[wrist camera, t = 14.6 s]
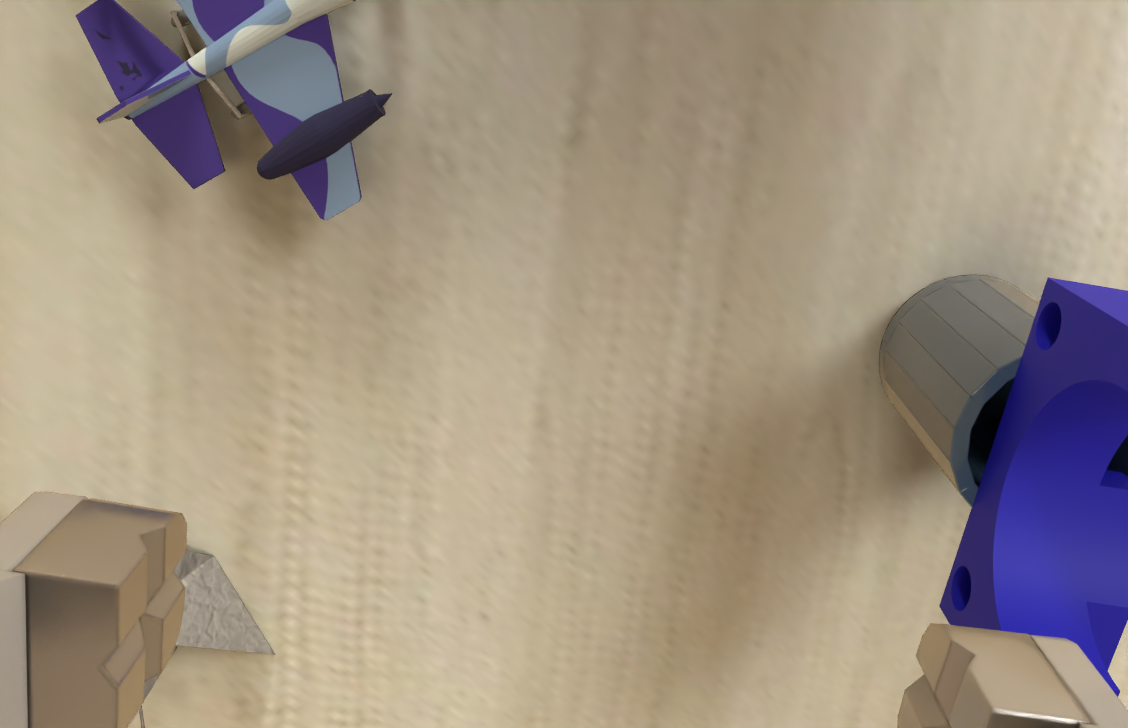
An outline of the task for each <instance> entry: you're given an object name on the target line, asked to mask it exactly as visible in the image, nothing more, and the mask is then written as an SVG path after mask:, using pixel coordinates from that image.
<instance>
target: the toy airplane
mask: <svg viewBox="0 0 1128 728" xmlns="http://www.w3.org/2000/svg"><path fill="white" fill-rule="evenodd" d="M177 1H178V3H179V4H180V6H181V7H182V9H183V10H181V11H172V12H171V15H172V18H171V23H172V25H173V26H174V27H177V28H178V30H179V32H180V35H181V37H182V39H183V41H184V43H185V45H186V47H187V50H188V52H189V54H190V56H191V58H190V59H188V60H187V61H186V62H184V61H183V60H181V59H180V58H179V57H178V56H177V55H176V54H175V53H173V52H172V51H171V50H170V49H169V48H168V47H167V46H166V45H164V44H163V43H162V42H161V41H160V40H159V39H158V38H156V37H155V36H154V35H153V34H152V33H151V32H150V31H149V30H147V29H146V28H145V27H144V26H143V25H142V24H141V23H139V22H138V21H137V20H136V19H135V18H134V17H133V16H131V15H130V14H129V13H128V12H127V11H126V10H125V9H124V8H122V7H121V6H120V5H119V4H118V3H117V2H116V1H114V0H97V1H96V2H94V3H93V4H91V5H90V6H89V7H87V8H86V9H84V10H83V11H81V12H80V13H78V14H77V15H76V17H77V19H78V21H79V23H80V25H81V27H82V29H83V31H84V33H85V35H86V37H87V39H88V41H89V43H90V45H91V47H92V49H93V51H94V53H95V55H96V57H97V59H98V61H99V63H100V65H101V67H102V69H103V71H104V73H105V75H106V77H107V79H108V81H109V83H110V85H111V87H112V89H113V91H114V93H115V95H116V97H117V99H118V100H119V102H120V104H119V105H117V106H115V107H114V108H112V109H111V110H109V111H108V112H106V113H104V114H103V115H101V116H100V117H98V118H97V121H98V122H99V123H103V122H107V121H111V120H115V119H118V118H122V117H124V118H126V119H128V120H130V119H132V120H133V122H134V123H135V125H136V126H137V127H138V128H139V129H140V130H141V132H142V133H143V134H144V135H145V136H146V137H147V138H148V139H149V140H150V141H151V143H152V144H153V145H154V146H155V147H156V148H157V149H158V150H159V151H160V153H161V154H162V155H163V156H164V157H165V158H166V159H167V160H168V161H169V163H170V164H171V165H172V166H173V167H174V168H175V169H176V170H177V171H178V172H179V174H180V175H181V176H182V177H183V178H184V179H185V180H186V181H187V182H188V184H189V185H190V186H191V187H192V188H193V189H195V188H197V187H199V186H200V185H202V184H204V183H206V182H207V181H209V180H211V179H212V178H214V177H216V176H218V175H219V174H221V173H223V172H225V168H224V165H223V162H222V159H221V156H220V153H219V150H218V146H217V143H216V140H215V137H214V134H213V131H212V128H211V125H210V122H209V118H208V115H207V112H206V109H205V106H204V103H203V100H202V97H201V93H200V90H199V87H198V83H200V82H202V81H204V80H205V79H206V81H207V82H208V83H209V84H210V85H211V86H212V88H213V89H214V90H215V91H216V92H217V93H218V95H219V96H220V97H221V98H222V99H223V100H224V101H225V103H226V104H227V105H228V106H229V107H230V108H231V110H232V113H231V114H232V117H233V118H234V119H237V120H239V119H242V118H244V117H245V116H247V115H249V114H251V113H253V115H254V117H255V118H256V120H257V121H258V123H259V124H260V126H261V127H262V129H263V130H264V132H265V134H266V135H267V137H268V138H269V140H270V141H271V143H272V144H273V147H272V148H271V149H270V150H269V151H268V152H267V153H266V154H265V155H264V156H263V157H262V158H261V159H260V160H259V161H258V164H257V171H258V173H259V175H260V176H261V177H263V178H265V179H268V180H270V179H275V178H277V177H280V176H283V175H286V174H289V173H291V174H292V175H293V177H294V178H295V180H296V181H297V183H298V185H299V186H300V188H301V189H302V191H303V192H304V194H305V195H306V197H307V198H308V200H309V202H310V203H311V205H312V206H313V208H314V209H315V211H316V212H317V214H318V215H319V217H320V218H321V219H323V220H328V219H330V218H332V217H333V216H335V215H337V214H338V213H340V212H342V211H344V210H345V209H347V208H349V207H350V206H352V205H354V204H355V203H357V202H359V201H360V199H361V197H362V196H361V191H360V186H359V180H358V175H357V170H356V164H355V159H354V154H353V148H352V143H351V141H352V140H353V139H354V138H356V137H357V136H358V135H359V134H361V133H362V132H363V131H364V130H366V129H367V128H368V127H369V126H370V125H372V124H373V123H374V122H375V121H377V120H378V119H379V118H380V117H382V116H384V115H385V114H386V113H385V110H384V107H383V106H384V104H385V103H386V101H387V100H388V99H389V97H390V96H391V95H392V93H390V94H383V95H376V94H375V93H374V92H373V91H372V90H368V91H366V92H365V93H363V94H361V95H358V96H356V97H354V98H351V99H349V100H347V101H344V100H343V95H342V90H341V84H340V79H339V74H338V69H337V63H336V58H335V53H334V47H333V42H332V37H331V31H330V26H329V21H328V15H327V13H329V12H331V11H334V10H336V9H338V8H340V7H343V6H345V5H347V4H349V3H352V2H354V1H356V0H177ZM189 23H192V24H193V26H194V27H195V29H196V30H197V32H198V33H199V35H200V37H201V38H202V40H203V41H204V43H205V44H206V46H207V47H206V48H204V49H203V50H201V51H200V52H198V53H197V54H196V55H195V53H194V51H193V49H192V47H191V45H190V43H189V41H188V38H187V36H186V34H185V32H184V30H183V28H182V27H183V26H186V25H188V24H189ZM223 69H224V70H225V72H226V73H227V75H228V76H229V78H230V79H231V81H232V83H233V84H234V86H235V87H236V89H237V90H238V92H239V93H240V95H241V96H242V98H243V100H244V101H245V102H244V103H242V104H240V105H239V106H237V107H235V106H234V105H233V104H232V102H231V101H230V100H229V99H228V98H227V97H226V95H225V94H224V93H223V92H222V91H221V90H220V88H219V87H218V86H217V85H216V84H215V83H214V81H213V80H212V79H211V78H210V77H211V76H212V75H214V74H216V73H218V72H219V71H221V70H223Z"/></svg>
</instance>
